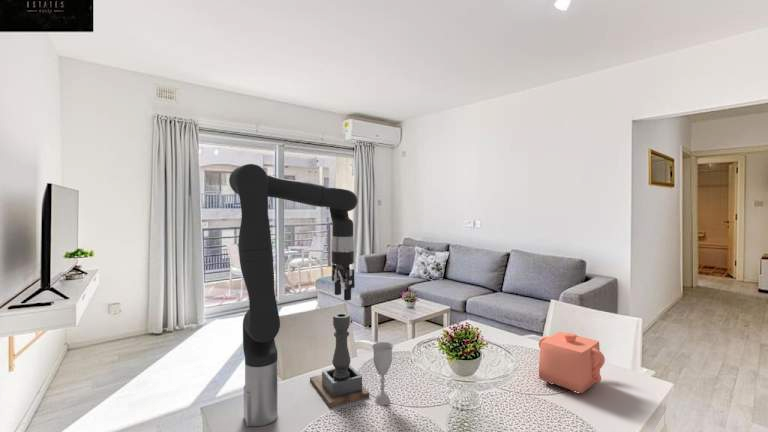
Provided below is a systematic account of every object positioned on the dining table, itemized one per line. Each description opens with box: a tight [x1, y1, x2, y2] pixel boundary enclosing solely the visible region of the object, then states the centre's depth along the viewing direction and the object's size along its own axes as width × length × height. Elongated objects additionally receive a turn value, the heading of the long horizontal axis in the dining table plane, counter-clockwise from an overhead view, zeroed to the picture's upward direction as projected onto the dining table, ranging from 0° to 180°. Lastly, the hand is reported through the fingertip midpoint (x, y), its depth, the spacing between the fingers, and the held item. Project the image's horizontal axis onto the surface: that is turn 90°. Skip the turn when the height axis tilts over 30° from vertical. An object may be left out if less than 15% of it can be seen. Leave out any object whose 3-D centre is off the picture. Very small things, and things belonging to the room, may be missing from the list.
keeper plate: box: [309, 374, 370, 408], centre depth 131 cm, size 14×20×2 cm
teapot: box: [538, 331, 606, 394], centre depth 139 cm, size 25×23×18 cm
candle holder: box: [332, 312, 351, 381], centre depth 128 cm, size 6×6×25 cm
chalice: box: [371, 341, 394, 406], centre depth 123 cm, size 7×7×18 cm
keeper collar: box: [321, 364, 363, 399], centre depth 128 cm, size 10×10×5 cm
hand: (342, 297), depth 128 cm, fingers open, 8 cm apart
